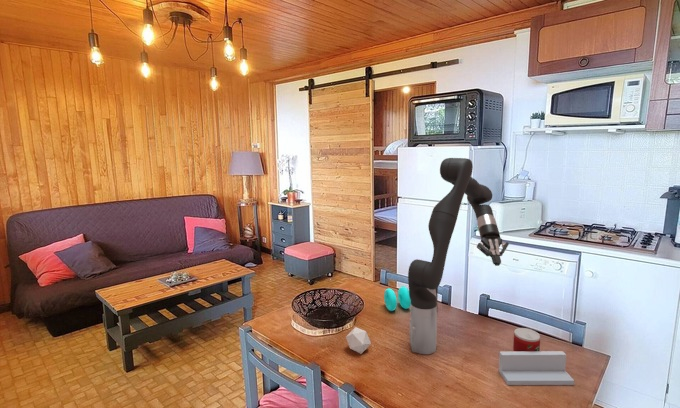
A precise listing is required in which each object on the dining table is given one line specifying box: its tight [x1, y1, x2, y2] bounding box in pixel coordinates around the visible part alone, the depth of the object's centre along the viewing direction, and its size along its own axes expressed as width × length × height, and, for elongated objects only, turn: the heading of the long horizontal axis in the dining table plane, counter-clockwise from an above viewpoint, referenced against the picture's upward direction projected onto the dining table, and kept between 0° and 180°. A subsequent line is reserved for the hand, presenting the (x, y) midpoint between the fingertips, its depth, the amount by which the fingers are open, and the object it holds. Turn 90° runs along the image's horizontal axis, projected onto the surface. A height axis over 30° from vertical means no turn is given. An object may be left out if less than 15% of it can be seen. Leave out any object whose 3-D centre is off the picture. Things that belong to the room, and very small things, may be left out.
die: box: [345, 326, 372, 355], centre depth 133 cm, size 8×9×10 cm
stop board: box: [498, 350, 575, 386], centre depth 114 cm, size 20×7×7 cm, turn 87°
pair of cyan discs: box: [383, 286, 411, 312], centre depth 165 cm, size 10×10×10 cm
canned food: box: [512, 327, 541, 351], centre depth 121 cm, size 8×8×11 cm
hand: (497, 264), depth 143 cm, fingers closed
